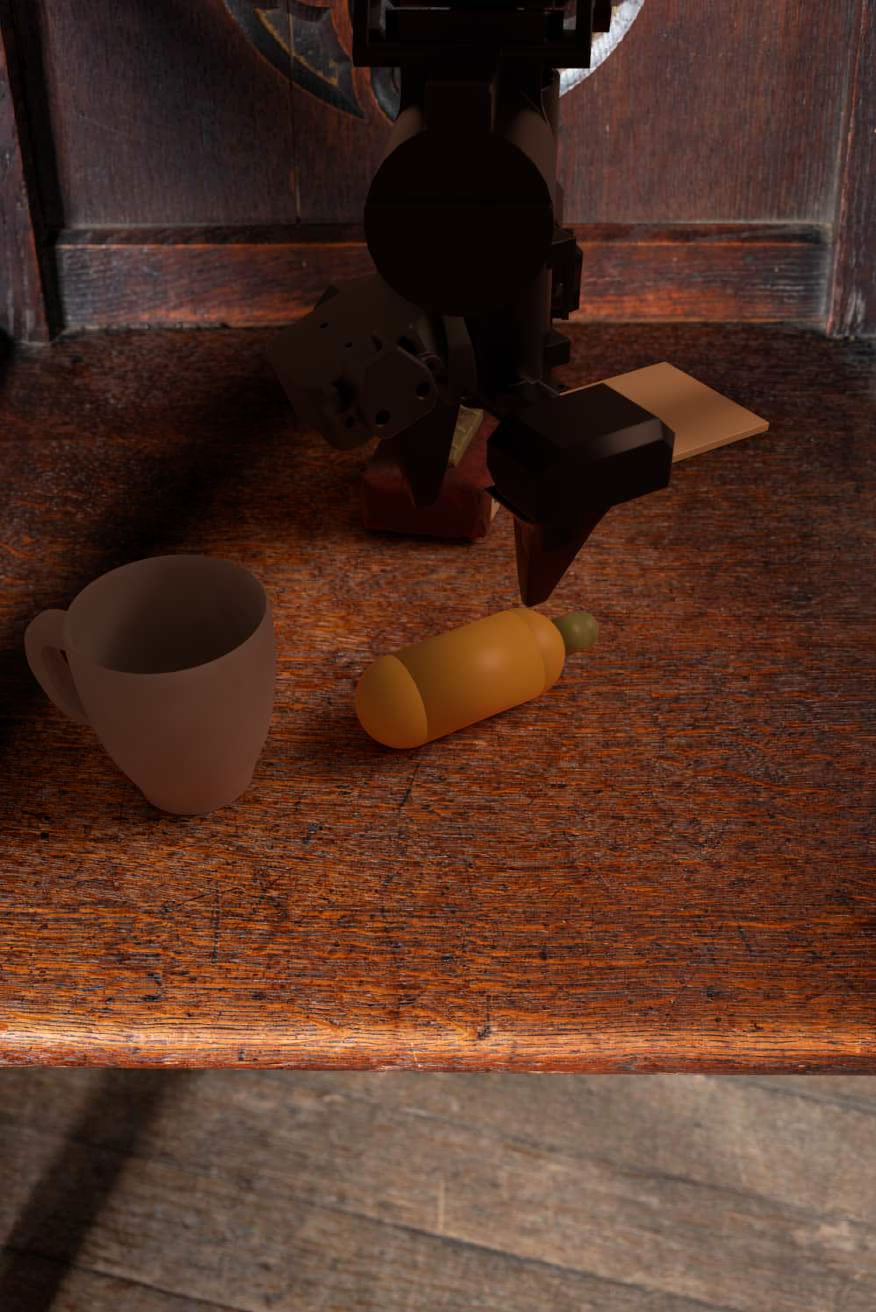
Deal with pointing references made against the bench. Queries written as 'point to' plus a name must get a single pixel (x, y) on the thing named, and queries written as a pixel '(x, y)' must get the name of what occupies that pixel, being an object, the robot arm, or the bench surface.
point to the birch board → (686, 408)
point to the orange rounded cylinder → (467, 674)
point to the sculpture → (461, 492)
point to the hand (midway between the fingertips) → (476, 552)
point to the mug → (167, 674)
